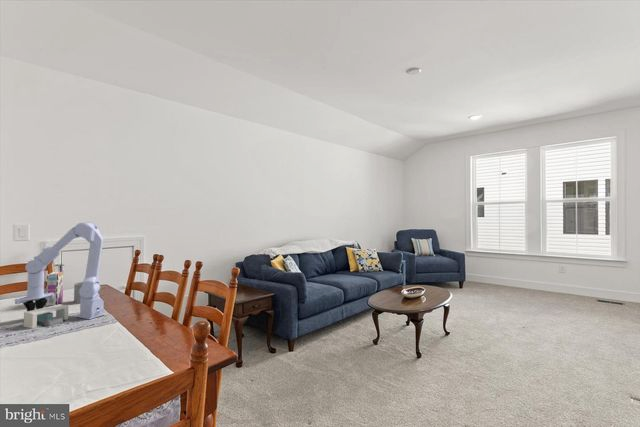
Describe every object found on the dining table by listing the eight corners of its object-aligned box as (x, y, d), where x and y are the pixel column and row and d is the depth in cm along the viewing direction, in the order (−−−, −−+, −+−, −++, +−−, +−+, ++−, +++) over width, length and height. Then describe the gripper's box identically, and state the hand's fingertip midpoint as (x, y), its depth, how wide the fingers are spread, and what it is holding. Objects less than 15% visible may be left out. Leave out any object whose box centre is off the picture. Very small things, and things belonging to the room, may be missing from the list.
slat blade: (52, 321, 148) (52, 312, 148) (47, 323, 146) (47, 314, 146) (31, 317, 153) (31, 309, 153) (26, 318, 151) (26, 310, 151)
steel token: (62, 323, 147) (62, 318, 147) (49, 327, 142) (50, 321, 142) (55, 322, 149) (55, 316, 149) (42, 325, 144) (42, 319, 144)
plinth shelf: (68, 318, 153) (68, 305, 153) (32, 328, 139) (32, 313, 139) (59, 317, 155) (59, 304, 155) (23, 326, 142) (24, 312, 142)
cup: (85, 303, 178) (85, 285, 178) (70, 303, 178) (70, 284, 178) (96, 299, 187) (96, 281, 187) (81, 299, 187) (82, 281, 187)
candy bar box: (57, 305, 173) (58, 274, 173) (45, 306, 171) (46, 274, 171) (63, 300, 183) (64, 270, 184) (52, 301, 181) (52, 271, 182)
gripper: (48, 282, 159) (47, 311, 159) (10, 288, 146) (10, 319, 145) (57, 283, 157) (57, 313, 156) (20, 290, 143) (20, 321, 143)
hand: (35, 316), depth 151 cm, fingers closed on slat blade, 2 cm apart
